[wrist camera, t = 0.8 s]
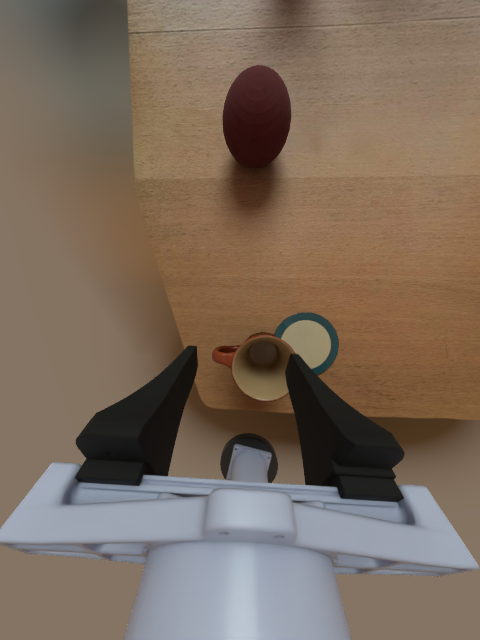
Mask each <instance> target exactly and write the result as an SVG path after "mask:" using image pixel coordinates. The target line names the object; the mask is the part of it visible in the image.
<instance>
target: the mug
mask: <svg viewBox="0 0 480 640" xmlns="http://www.w3.org/2000/svg"><path fill="white" fill-rule="evenodd" d="M291 353H292V354H296V353H295V352H294V350H293V349H292V347H291V346H290V345H289V344H288V343H286V342H285V341H283V340H282V339H280V338H277V337H276V336H275V335H273V334H270V333H266V332H260V333H256V334H253V335H251V336H250V337H249V338H248V339H247V340H246V341H245V342H244V343H242V344H241V345H237V346H220V347H217V348H215V349H214V350H213V354H212V359H213V361H215V362H217V363H219V364H223V365H226V366H228V367H230V368H231V369H232V376H233V379H234V381H235V383H236V385H237V386H238V388H239V389H240V390H241V391H242V392H243V393H244V394H245V395H247V396H248V397H250V398H252V399H255V400H258V401H275V400H278V399H281V398H283V397H284V396H286V395H287V394H288V393H289V391H288V387H287V383H286V376H285V371H286V367H287V364H288V360H289V357H290V354H291Z"/></svg>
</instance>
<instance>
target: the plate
mask: <svg viewBox="0 0 480 640" xmlns="http://www.w3.org/2000/svg"><path fill="white" fill-rule="evenodd" d="M274 335H275V336H276V337H277V338H280V339H282V340H283V341H285V342H286V343H288V344H289V345H290V346H291V347H292V349H293V350H294V352H295V353H296V354H299V355H300V356H301V358H302V359H303V360H304V361H305V362H306V364H307V365H308V366H309V367H310V368H311V369H312V371H313V372H314V373H315V374H316V375H318V374H320V373H322V372H323V371H325V370H326V369H327V368H329V367H330V366H331V364H332V363H333V362H334V360H335V358H336V356H337V353H338V347H339V342H338V336H337V333H336V331H335V329H334V327H333V326H332V324H331V323H330V322H329V321H328V320H326V319H325V318H324V317H322V316H320V315H317V314H314V313H306V312H304V313H298V314H294V315H292V316H290V317H288V318H287V319H285V320H284V321H283V322H282V323H281V324H280V325H279V326H278V328H277V329H276V332H275V334H274Z"/></svg>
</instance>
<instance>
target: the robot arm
mask: <svg viewBox="0 0 480 640" xmlns="http://www.w3.org/2000/svg"><path fill="white" fill-rule="evenodd" d="M197 367H198V361H197V346H187V347H186V349H185V350H184V351H183V352H182V353H181V354H180V355H179V356H178V357H177V358H176V359H175V360H174V361H173V362H172V363H171V364H170V365H169V366H168V367H167V368H166V369H165V370H164V371H162V372H161V373H160V374H159V375H158V376H157V377H155V378H154V379H153V380H152V381H150V382H149V383H147V384H146V385H145V386H143V387H142V388H140V389H139V390H137V391H136V392H134V393H133V394H131V395H129V396H128V397H126V398H124V399H123V400H121V401H119V402H117V403H115V404H113V405H111V406H109V407H108V408H106V409H104V410H102V411H100V412H98V413H96V414H95V416H94V417H93V418H92V419H91V420H90V421H89V423H88V424H87V425H86V427H85V428H84V429H83V431H82V432H81V433H80V435H79V436H78V437H77V439H76V445H77V447H78V448H79V450H80V451H81V452H82V453H83V455H84V456H85V457H86V458H87V459H86V461H85V462H84V463H83V465H82V466H81V465H79V464H74V463H60V462H54V463H52V464H51V465H50V466H49V467H48V468H47V470H46V471H45V472H44V474H43V475H42V476H41V477H40V479H39V480H38V482H37V483H36V484H35V485H34V486H33V488H32V489H31V490H30V491H29V493H28V494H27V495H26V497H25V498H24V499H23V501H22V502H21V503H20V504H19V505H18V507H17V508H16V509H15V511H14V512H13V513H12V515H11V516H10V517H9V518H8V520H7V521H6V522H5V523H4V525H3V526H2V527H1V529H0V545H2V546H6V547H8V548H12V549H15V550H18V551H21V552H24V553H27V554H42V555H56V556H69V557H79V558H90V559H99V560H109V561H119V562H129V563H139V564H145V566H144V570H143V573H142V577H141V580H140V584H139V588H138V591H137V594H136V598H135V601H134V605H133V608H132V612H131V615H130V619H129V622H128V626H127V629H126V633H125V636H124V640H351V636H350V632H349V628H348V624H347V620H346V616H345V612H344V608H343V604H342V600H341V596H340V592H339V588H338V585H337V580H336V576H335V574H381V575H382V574H383V575H385V574H386V575H420V576H443V575H450V574H456V573H462V572H467V571H473V570H479V566H478V564H477V563H476V561H475V560H474V558H473V557H472V555H471V554H470V552H469V551H468V549H467V548H466V546H465V545H464V543H463V542H462V540H461V539H460V537H459V536H458V534H457V533H456V531H455V530H454V528H453V527H452V525H451V524H450V522H449V521H448V519H447V518H446V516H445V515H444V513H443V512H442V510H441V509H440V507H439V506H438V504H437V503H436V501H435V500H434V498H433V497H432V495H431V494H430V492H429V491H428V489H427V488H426V487H425V486H419V485H399V486H397V484H396V483H395V481H394V478H396V476H395V474H394V472H393V470H392V468H393V467H394V466H395V465H397V464H398V463H399V462H400V461H401V460H402V459H403V457H404V451H403V449H402V448H401V446H400V445H399V444H398V442H397V441H396V439H395V438H394V436H393V435H392V433H390V432H389V431H387V430H385V429H384V428H382V427H380V426H379V425H377V424H376V423H374V422H372V421H371V420H369V419H368V418H366V417H365V416H364V415H362V414H361V413H359V412H358V411H356V410H355V409H354V408H352V407H351V406H350V405H349V404H347V403H346V402H345V401H344V400H342V399H341V398H340V397H339V396H338V395H336V394H335V393H334V392H333V391H332V390H331V389H330V388H329V387H328V386H327V385H326V384H325V383H324V382H323V381H322V380H321V379H320V378H319V377H318V376H317V375H316V374H315V373H314V372H313V371H312V369H311V368H310V367H309V366H308V365H307V364H306V362H305V361H304V360H303V359H302V358H301V356H300V355H299V354H292V353H291V354H290V357H289V360H288V364H287V367H286V371H285V376H286V383H287V387H288V391H289V395H290V398H291V402H292V405H293V409H294V413H295V417H296V421H297V426H298V432H299V439H300V445H301V452H302V459H303V467H304V475H305V484H306V485H294V484H279V483H268V477H267V472H268V468H269V464H270V461H271V457H272V454H271V453H270V452H267V451H263V450H259V449H255V448H251V447H247V446H243V445H240V444H235V445H234V449H233V453H232V457H231V461H230V465H229V469H228V473H227V477H226V480H216V479H201V478H200V479H199V478H185V477H168V471H169V467H170V462H171V457H172V453H173V449H174V445H175V440H176V437H177V432H178V428H179V425H180V420H181V417H182V413H183V409H184V406H185V404H186V401H187V398H188V396H189V393H190V390H191V388H192V385H193V382H194V379H195V376H196V372H197ZM235 448H236V449H235ZM268 457H269V458H268ZM228 479H229V480H228Z"/></svg>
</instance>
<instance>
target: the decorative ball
mask: <svg viewBox="0 0 480 640" xmlns="http://www.w3.org/2000/svg"><path fill="white" fill-rule="evenodd" d="M290 122H291V104H290V98H289V94H288V91H287V88H286V86H285V84H284V82H283V80H282V79H281V77H280V76H279V75H278V73H276V72H275V71H274V70H273V69H271V68H269V67H266V66H262V65H257V66H253V67H250V68H247V69H246V70H244V71H243V72H242V73H240V74H239V75H238V77H237V78H236V79H235V81H234V82H233V83H232V85H231V87H230V89H229V91H228V94H227V97H226V100H225V103H224V110H223V132H224V136H225V140H226V144H227V146H228V148H229V150H230V152H231V154H232V156H233V157H234V158H235V159H236V160H237V161H238V162H239V163H240V164H241V165H243V166H245V167H248V168H261V167H264V166H266V165H268V164H269V163H271V162H272V161H273V160H274V159H275V158H276V157H277V156H278V155H279V153H280V152H281V150H282V148H283V146H284V144H285V142H286V139H287V136H288V133H289V129H290Z"/></svg>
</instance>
